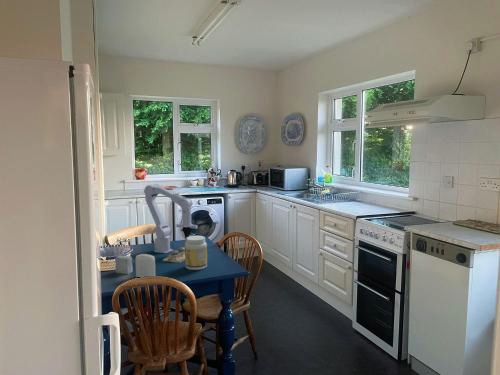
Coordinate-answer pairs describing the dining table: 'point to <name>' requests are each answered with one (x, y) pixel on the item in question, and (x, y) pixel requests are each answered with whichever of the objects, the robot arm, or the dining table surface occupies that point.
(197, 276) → the dining table surface
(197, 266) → the supplement tub
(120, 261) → the medicine box
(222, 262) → the dining table surface
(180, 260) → the board
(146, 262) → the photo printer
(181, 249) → the grey ball
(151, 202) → the robot arm
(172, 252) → the plug
